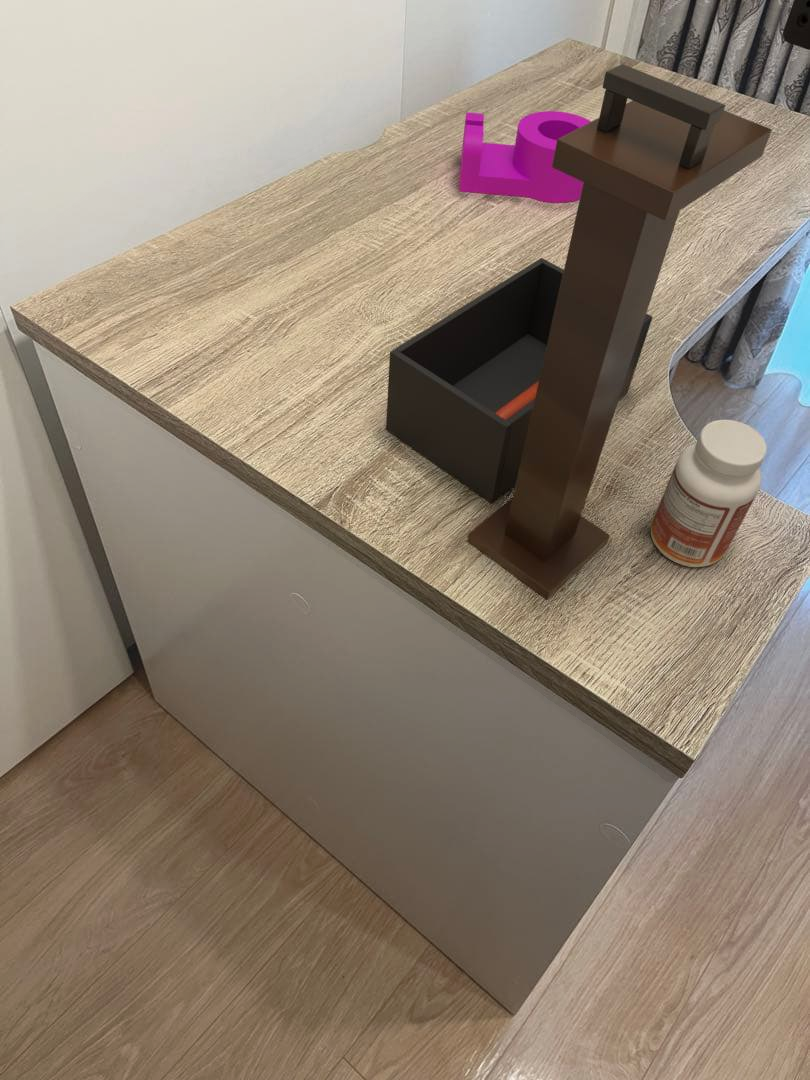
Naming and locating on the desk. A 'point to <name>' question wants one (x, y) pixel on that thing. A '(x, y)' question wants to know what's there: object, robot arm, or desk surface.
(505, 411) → the orange red rod
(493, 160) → the tape dispenser
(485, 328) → the bin
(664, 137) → the brown pedestal stand
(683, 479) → the pill bottle
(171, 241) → the desk surface
